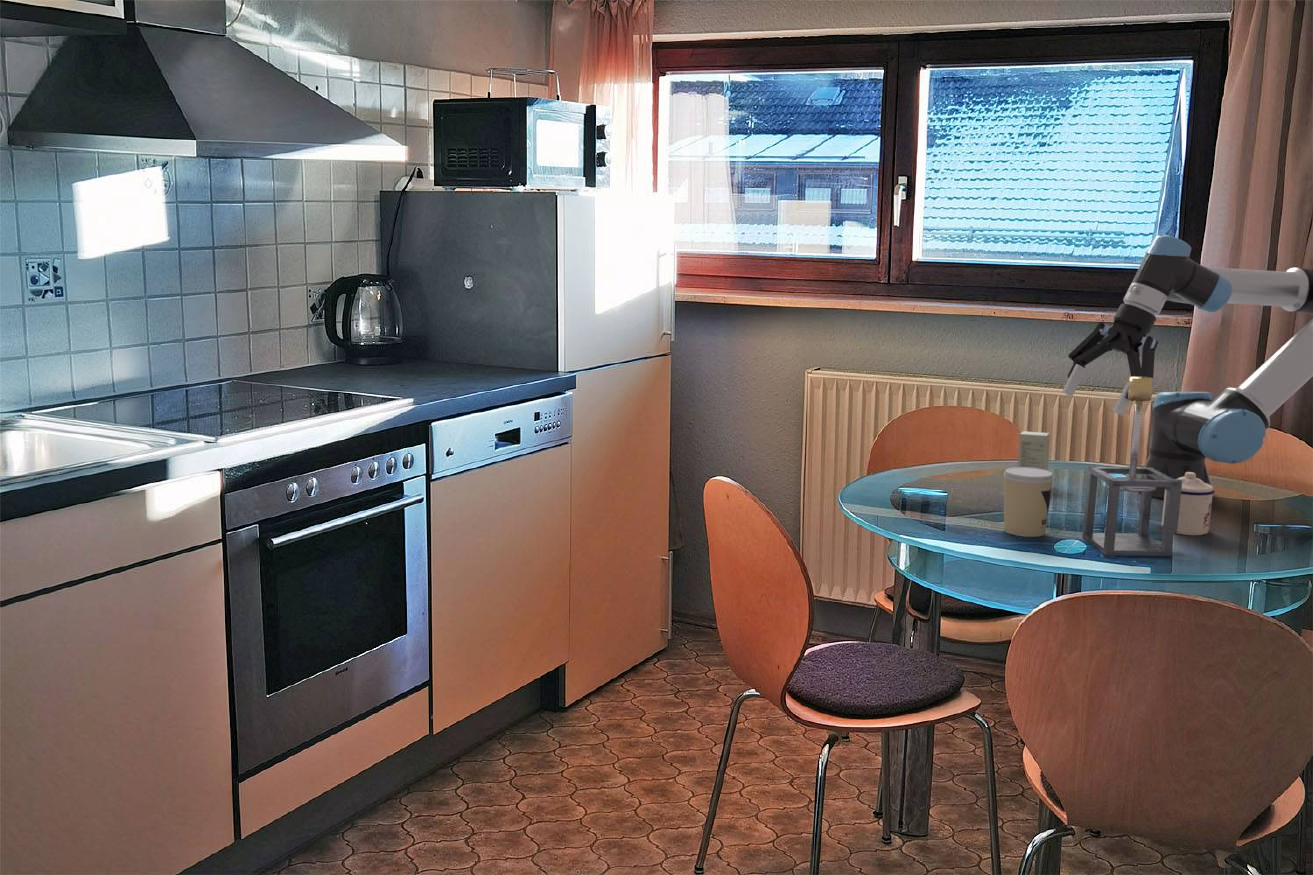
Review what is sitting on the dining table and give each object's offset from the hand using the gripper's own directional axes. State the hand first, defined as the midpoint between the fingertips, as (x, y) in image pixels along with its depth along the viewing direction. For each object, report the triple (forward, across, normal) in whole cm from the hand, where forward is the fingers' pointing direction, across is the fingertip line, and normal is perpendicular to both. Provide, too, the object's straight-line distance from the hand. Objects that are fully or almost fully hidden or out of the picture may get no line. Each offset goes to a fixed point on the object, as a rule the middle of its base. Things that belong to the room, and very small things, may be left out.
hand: (1091, 404), depth 245 cm
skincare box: (+21, -20, +18) cm, 34 cm away
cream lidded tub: (+29, +9, -12) cm, 33 cm away
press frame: (+22, +26, -3) cm, 34 cm away
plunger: (+13, +24, -9) cm, 28 cm away
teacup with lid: (+15, +21, +16) cm, 30 cm away
